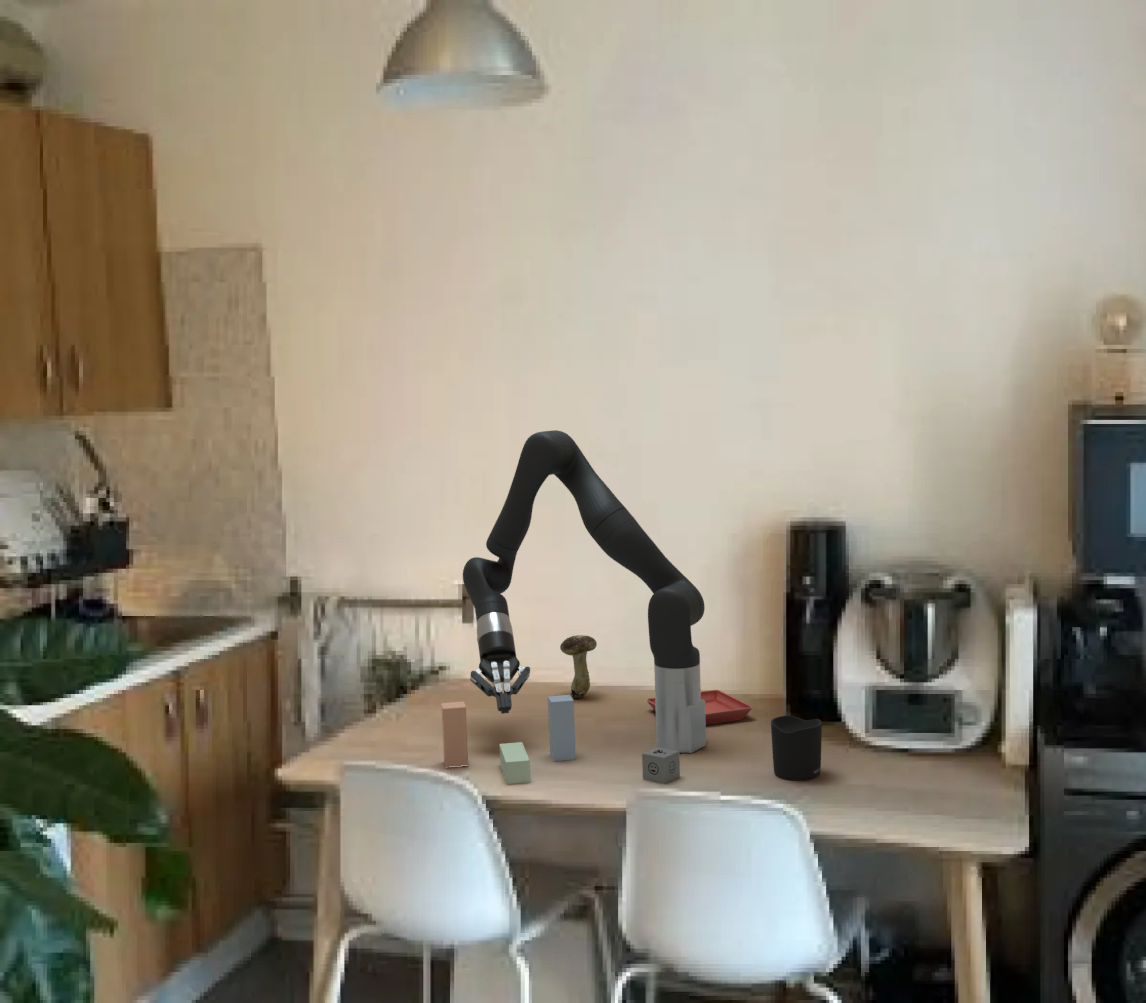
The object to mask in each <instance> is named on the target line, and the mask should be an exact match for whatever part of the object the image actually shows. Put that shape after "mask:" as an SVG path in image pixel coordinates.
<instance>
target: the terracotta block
mask: <svg viewBox="0 0 1146 1003" xmlns="http://www.w3.org/2000/svg"><path fill="white" fill-rule="evenodd" d="M440 704H441V724H442V744H443V763H444V762H445V763H444V767H445V766H446V767H449V766H461V765H469V746H468V726H467V724H468V722H467V706H466V704H465V701H450V702H442V703H440ZM446 767H445V768H446Z"/></svg>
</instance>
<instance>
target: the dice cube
mask: <svg viewBox="0 0 1146 1003" xmlns="http://www.w3.org/2000/svg"><path fill="white" fill-rule="evenodd" d="M641 760H642V761H641V762H642V764H641V765H642V780H645V781H650V782H654V783H659V784H663V785H665V784H667V783H669V782H671V781H674V780H676V779H677V778H680V776H681V767H680V766H681V764H680V760H681V759H680V753H679V751H676V750H671V749H666V748H661V747H657V746H656V747H654V748H652V749H649V750H647V751H645V752H643V753H642V754H641Z"/></svg>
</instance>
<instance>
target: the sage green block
mask: <svg viewBox="0 0 1146 1003" xmlns="http://www.w3.org/2000/svg"><path fill="white" fill-rule="evenodd" d="M499 759H500V760H499V764H501V766H500V768H501V767H502V769H501V771H503V772H502V774H503V777H504V780H505V784H506V785H514V784H515V785H516V784H526V783H527V784H528V783H531V761H530V758H529V756H528V753H527V750H526V748H525V746H524V743H523V742H522V741H519V742H507V743H499Z"/></svg>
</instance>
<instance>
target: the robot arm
mask: <svg viewBox="0 0 1146 1003" xmlns="http://www.w3.org/2000/svg"><path fill="white" fill-rule="evenodd" d="M515 468H516V469H515V472H514V475H513V478H512V482H511V483H510V484H511V485H510V488H509V490H508V492H507V493H508V494H507V496H506V499H505V500H504V504H503V505H502V509H501V511H500V513H499V515H498V517H497V519H496V521H495V523H494V525H493V527H492V529H491V531H490V533H489V535H488V537H487V540H486V543H485V545H486V548H487V551H489V553H491V555H494V556H495V557H497V558H498V560H497V561H496V560H493V559H488V558H484V557H478V556H475V557H471V558H469V559H468V560H467V561H466V563H465V564H464V566H463V569H462V581H463V585H464V589H465V590H466V592H467V595H468V597H469V599H470V601H471V604H472V605H473V608H474V610H475V611H474V612H475V620H476V641H477V645H478V652H479V661H480V662H479V663H478V668H477V669H476V670H471V671H470V676H469V677H470V679H469V680H470V682H471V683H472V684H474V686H476V687H477V688H478V689H479V690H480V691H481V692H482V693H484V694H485V696H487V697H494V698H495V700H496V707H497V710H498V712H500V713H501V714H509V713H510V711H511V710H512V705H513V703H512V695H517V694H519V692H520V691H521V689H522V687H523V686H524V684H526V682H527V681H528V679H529V678H530V675H531V667H529V666H524V665H522V664H521V662H520V660H519V659H518V658H517V653H516V645H515V639H514V633H513V627H512V623H511V619H510V614H509V606H508V601H507V599H506V597H505V596H504V595H503V593H505V592H506V591H507V590H508V589H509V587H510V586H511V583H512V579H513V572H514V566H515V561H516V558H517V555H518V551H519V550H520V547H521V545H522V544H523V542H524V539H525V537H526V536H527V534H528V531H529V528H530V525H531V522H532V516H533V509H534V503H535V499H536V497H537V494H538V492H539V490H540V488H541V487H542V485H543V484H544V482H545V481H546V480H547V478H548V477H549V476H551V475H554V476H555V477H556V478H557V479H558V480H559V481H560V482H561V484H563V485H564V487H566V489H567V490H568V491H569V493H570V494H571V495H572V497H573V498H574V500H575V502H576V505H577V508H578V511H579V514H580V517H581V520H582V523H583V526H584V527H585V529H586V531H587V533H589V535H590V537H591V538H592V539H593V541H595V542H596V544H597V545H598V546H599V547H600V549H601V550H602V551H603V552H604V553H605V554H606V555H607V556H608V557H609V558H610V559H612V560H613V561H614V562H616V563H617V564H619V565H621V567H623V568H625V569H626V570H627V571H630V572H631V573H633V574H634V575H635V576H637V577H638V579H640V580H641V581H642V582H643V583H644V584H645V585H646V586H647V587H648V589H649V590H650V591H651V592H652V596H650V599H649V602H648V607H647V624H648V637H649V638H648V639H649V641H648V642H649V647H650V651H651V653H652V655H653V656H652V657H653V660H654V661H653V664H654V672H653V673H654V698H655V706H656V711H655V731H656V737H655V738H656V747H661V748H666V749H671V750H676V751H679V754H680V753H687V754H688V753H689V754H692V753H694V752H696V751H698V750H700V749H702V748H704V747H706V746H707V731H706V730H707V727H706V726H707V725H706V718H705V700H703V699H701V692H702V690H701V686H702V685H701V657H700V656H701V655H700V650H699V648H697V647H696V646H694V645H693V640H692V626H694V625H695V624H697V623H698V622H700V620H701V619H702V618H703V617H704V613H705V602H704V598H703V595H702V593H701V592H700V591H699V589H698V588H697V587H696V586H695V585H694V584H693V583H692V582H691V580H689V579H688V578H687V577H686V576H685V575H684V574H683V573H682V572H681V571H680V570H679V569H678V568H677V567H676V566H675V565H674V564H673V563H672V561H670V560H669V559H668V558H667V557H666V556H665V555H664V553H663V552H662V550H661V549H660V548H659V547H658V546H657V545H656V543H655V542H654V541H653V539H652V538H651V537H650V536H649V535H648V533H646V531H645V530H644V529H643V528H642V526H641V525H640V524H639V523H638V521H637V520H636V518H635V517H634V516H633V515H632V514H631V512H630V511H629V509H627V508H626V507H625V506H624V504H623V503H622V502H621V501H620V500H619V498H618V497H617V496H616V495H615V494H614V493H613V491H612V490H611V489H610V488H609V486H608V485H607V484H606V483H605V482H604V481H603V480H602V478H601V477H600V476H599V475H598V473H597V472H596V471H595V469H594V468H593V467H592V465H591V464H590V462H589V461H588V459H587V457H586V456H585V454H584V453H583V451H582V450H581V448H580V447H579V446H578V444H577V443H576V441H575V440H574V439H573V438H572V437H571V436H570V435H569V434H567V433H566V432H564V431H561V430H558V429H557V430H545V431H537V432H535V433H533V434H531V435H530V436H528V437H527V439H526V441H525V442H524V444H523V447H522V450H521V451H520V455H519V459H518V462H517V466H516V467H515ZM517 673H518V675H517V676H518V677H517V678H516V679H515V681H514V683H512V685H511V681H512V680H513V678H514V677H515V675H516V674H517ZM483 676H484V677H485V678H484V677H483ZM486 679H487V680H486ZM488 681H489V682H488ZM491 684H492V685H491Z"/></svg>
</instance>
